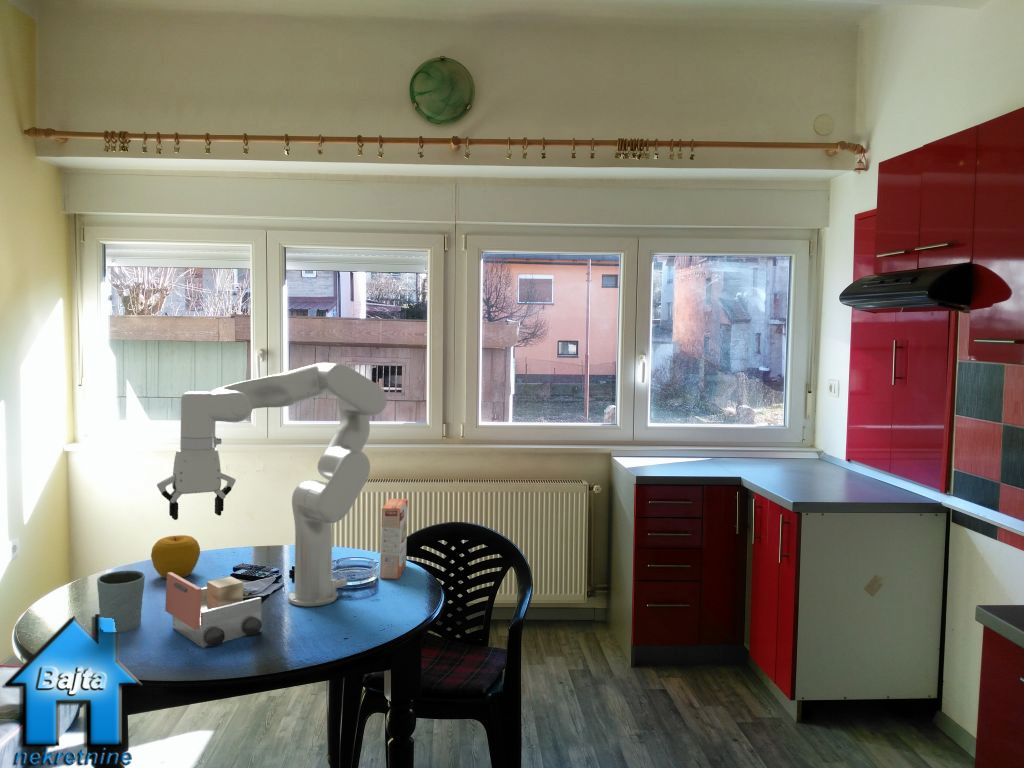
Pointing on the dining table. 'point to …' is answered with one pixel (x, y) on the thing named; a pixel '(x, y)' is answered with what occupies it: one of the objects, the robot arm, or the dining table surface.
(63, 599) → the dining table surface
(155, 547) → the apple
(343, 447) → the robot arm
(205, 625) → the cart
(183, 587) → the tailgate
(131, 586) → the grey round bin
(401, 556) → the cracker box
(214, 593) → the box
